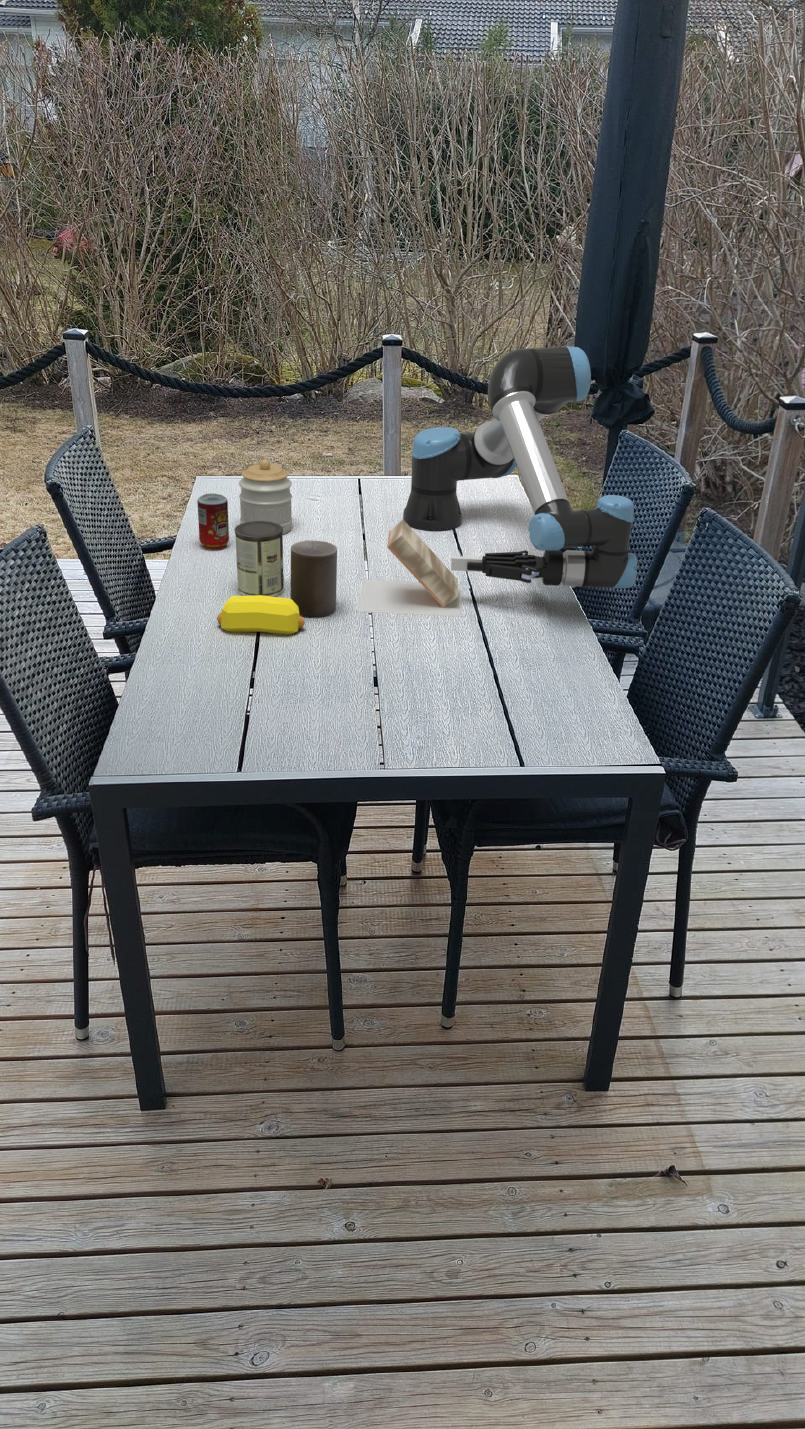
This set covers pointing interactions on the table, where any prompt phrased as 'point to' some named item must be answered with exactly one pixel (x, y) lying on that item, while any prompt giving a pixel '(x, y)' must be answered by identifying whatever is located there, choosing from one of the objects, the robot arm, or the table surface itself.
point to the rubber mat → (404, 599)
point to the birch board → (423, 563)
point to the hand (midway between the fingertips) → (451, 563)
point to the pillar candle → (314, 578)
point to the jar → (266, 495)
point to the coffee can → (259, 558)
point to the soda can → (213, 521)
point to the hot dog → (260, 615)
